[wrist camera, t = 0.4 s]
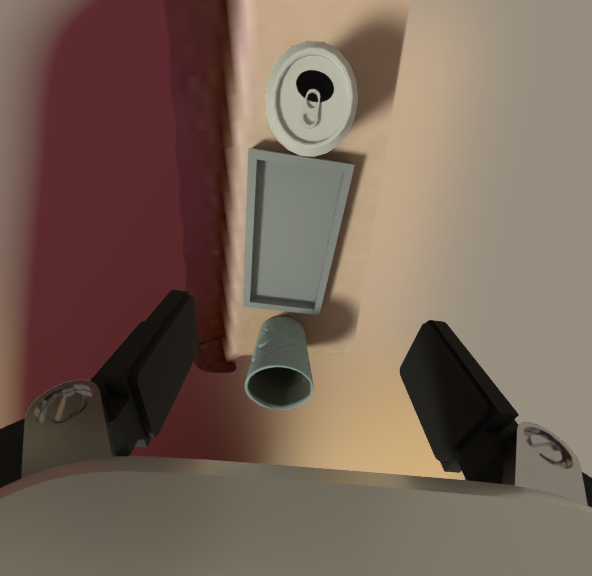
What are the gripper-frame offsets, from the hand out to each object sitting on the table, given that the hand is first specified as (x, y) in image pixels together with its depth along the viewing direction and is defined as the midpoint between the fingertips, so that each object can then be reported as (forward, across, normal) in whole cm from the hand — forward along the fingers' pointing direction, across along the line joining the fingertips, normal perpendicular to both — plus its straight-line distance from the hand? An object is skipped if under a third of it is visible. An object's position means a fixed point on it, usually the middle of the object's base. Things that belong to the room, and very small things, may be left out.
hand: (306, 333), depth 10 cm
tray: (+27, +1, +6) cm, 28 cm away
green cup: (+28, 0, +25) cm, 37 cm away
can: (+27, +1, -9) cm, 29 cm away
